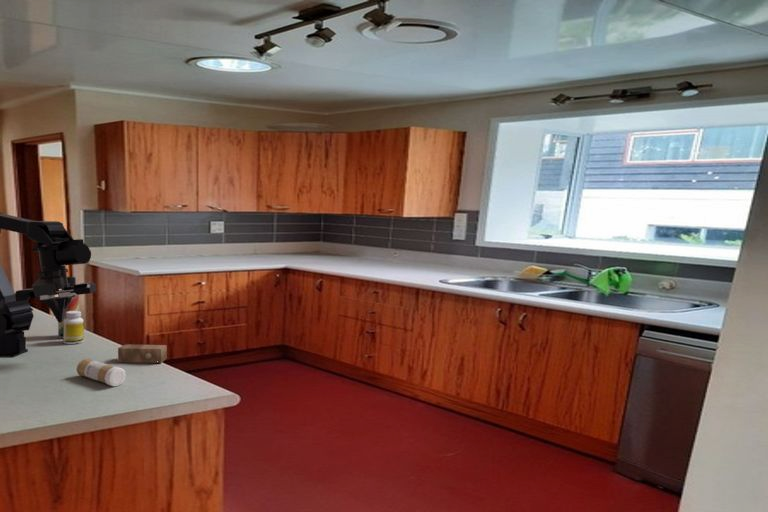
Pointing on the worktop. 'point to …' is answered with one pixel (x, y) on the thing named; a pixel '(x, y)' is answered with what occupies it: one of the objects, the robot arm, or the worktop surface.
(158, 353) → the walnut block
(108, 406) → the worktop surface
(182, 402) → the worktop surface
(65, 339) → the supplement bottle
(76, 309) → the lotion bottle
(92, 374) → the sprinkles bottle
